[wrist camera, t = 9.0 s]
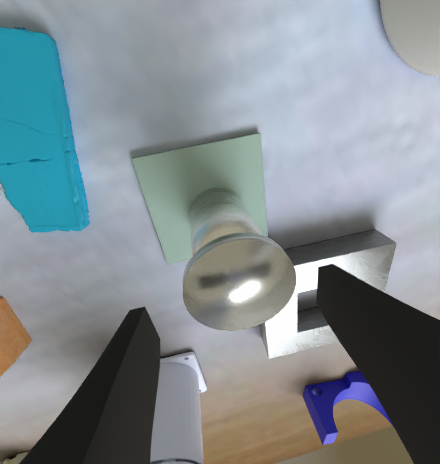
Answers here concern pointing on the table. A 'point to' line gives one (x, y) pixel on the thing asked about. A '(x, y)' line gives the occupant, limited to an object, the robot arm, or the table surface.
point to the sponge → (38, 135)
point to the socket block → (306, 266)
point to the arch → (10, 336)
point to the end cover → (233, 266)
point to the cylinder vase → (414, 32)
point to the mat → (199, 186)
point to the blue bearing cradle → (330, 393)
